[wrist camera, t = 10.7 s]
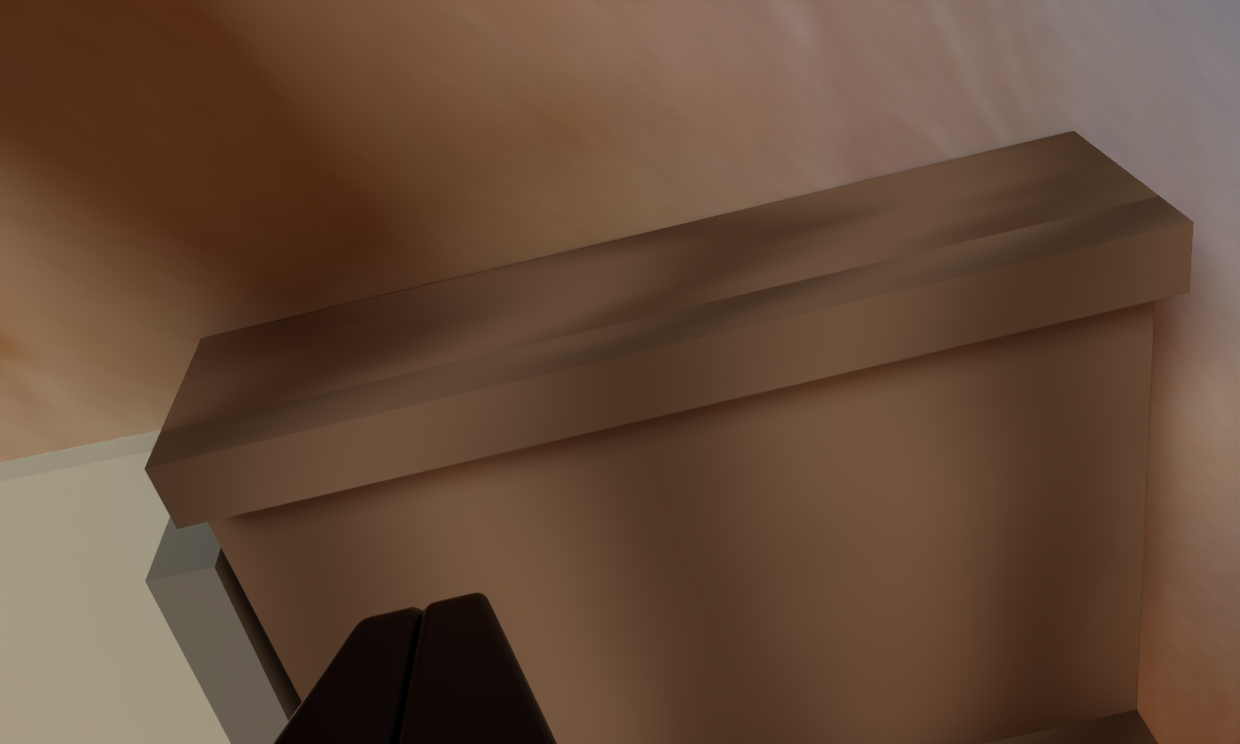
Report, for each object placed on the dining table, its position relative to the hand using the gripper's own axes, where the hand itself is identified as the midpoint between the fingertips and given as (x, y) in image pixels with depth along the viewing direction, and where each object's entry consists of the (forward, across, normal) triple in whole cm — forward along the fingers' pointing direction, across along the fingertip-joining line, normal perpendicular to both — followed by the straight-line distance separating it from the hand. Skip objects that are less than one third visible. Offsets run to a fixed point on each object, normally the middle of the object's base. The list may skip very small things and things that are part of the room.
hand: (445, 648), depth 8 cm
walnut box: (+13, -2, +10) cm, 16 cm away
